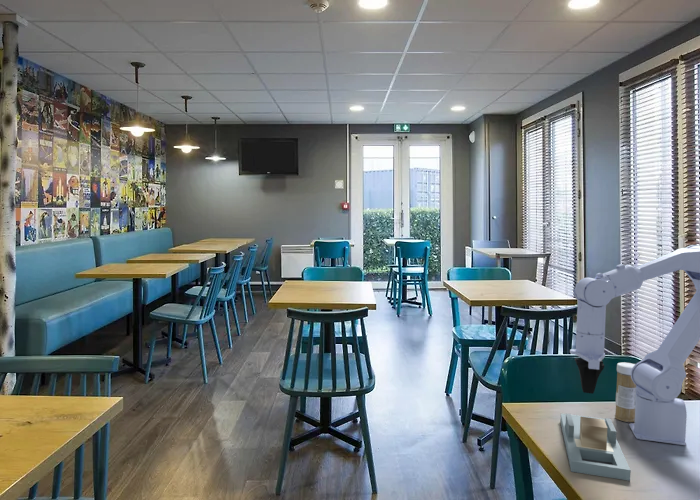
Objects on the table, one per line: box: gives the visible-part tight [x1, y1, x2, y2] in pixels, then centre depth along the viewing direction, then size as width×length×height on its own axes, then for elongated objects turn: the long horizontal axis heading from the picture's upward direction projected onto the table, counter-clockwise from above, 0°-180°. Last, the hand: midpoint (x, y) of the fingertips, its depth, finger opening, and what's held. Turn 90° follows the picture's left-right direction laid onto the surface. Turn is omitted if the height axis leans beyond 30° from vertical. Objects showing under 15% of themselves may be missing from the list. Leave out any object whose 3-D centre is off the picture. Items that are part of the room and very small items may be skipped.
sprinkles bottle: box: [614, 361, 636, 423], centre depth 121 cm, size 5×5×13 cm
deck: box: [560, 412, 631, 481], centre depth 105 cm, size 10×25×4 cm, turn 162°
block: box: [580, 416, 607, 450], centre depth 103 cm, size 4×4×4 cm
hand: (587, 392), depth 112 cm, fingers closed
